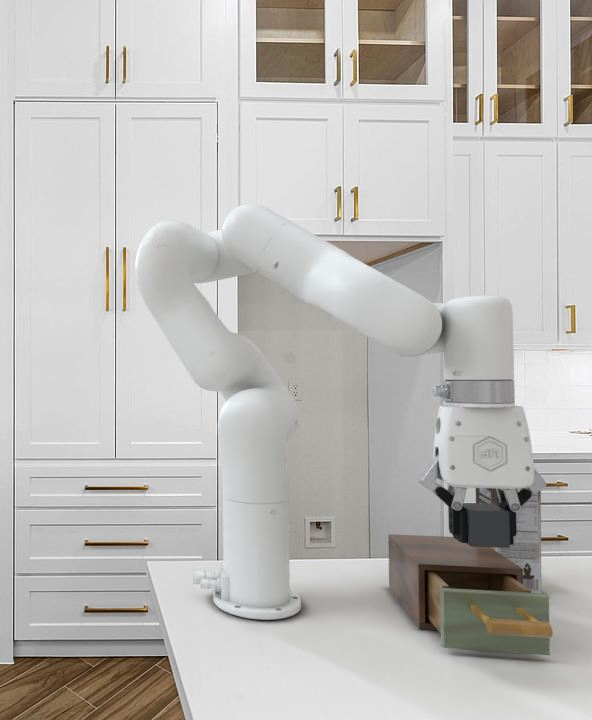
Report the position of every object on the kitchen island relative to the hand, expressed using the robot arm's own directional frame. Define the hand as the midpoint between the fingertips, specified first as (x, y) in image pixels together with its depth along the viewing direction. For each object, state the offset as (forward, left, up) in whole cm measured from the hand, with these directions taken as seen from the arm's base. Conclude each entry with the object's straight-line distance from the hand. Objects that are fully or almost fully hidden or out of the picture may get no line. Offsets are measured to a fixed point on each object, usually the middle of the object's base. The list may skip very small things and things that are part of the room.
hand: (482, 539), depth 75 cm
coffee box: (+13, +24, -13) cm, 30 cm away
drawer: (0, 0, -12) cm, 12 cm away
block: (0, 0, 0) cm, 0 cm away
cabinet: (0, +11, -13) cm, 17 cm away
